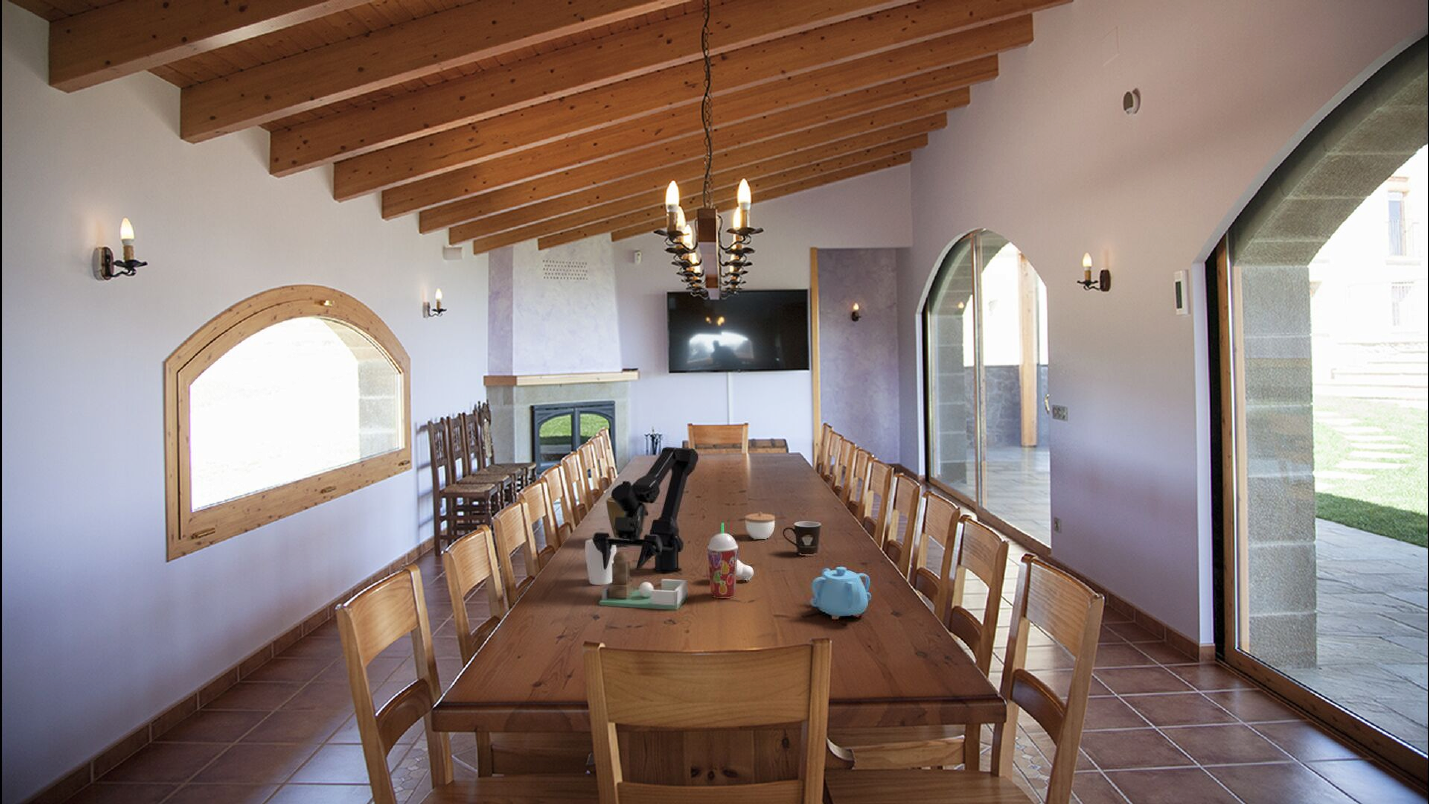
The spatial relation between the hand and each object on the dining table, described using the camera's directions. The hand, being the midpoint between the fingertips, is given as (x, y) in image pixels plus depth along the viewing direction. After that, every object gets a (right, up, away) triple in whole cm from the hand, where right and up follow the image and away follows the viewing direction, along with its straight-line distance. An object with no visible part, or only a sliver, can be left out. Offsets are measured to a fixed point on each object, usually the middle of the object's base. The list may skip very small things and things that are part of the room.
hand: (620, 569), depth 216 cm
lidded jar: (+42, -4, +71) cm, 82 cm away
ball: (+7, -5, -1) cm, 9 cm away
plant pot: (-5, -4, +64) cm, 64 cm away
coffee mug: (+54, -5, +48) cm, 73 cm away
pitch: (+6, -8, -1) cm, 10 cm away
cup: (-8, -7, +17) cm, 20 cm away
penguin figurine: (+31, -7, +17) cm, 36 cm away
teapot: (+57, -9, -12) cm, 59 cm away
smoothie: (+28, -8, +3) cm, 29 cm away
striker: (0, -7, 0) cm, 7 cm away
